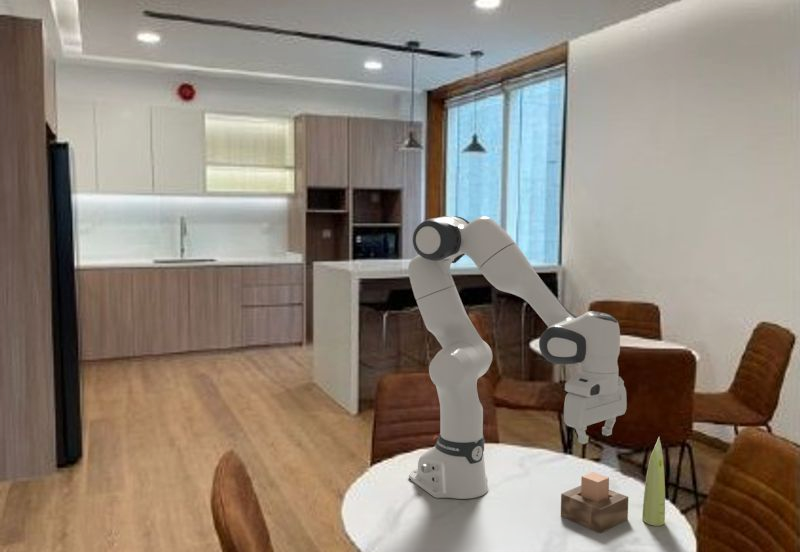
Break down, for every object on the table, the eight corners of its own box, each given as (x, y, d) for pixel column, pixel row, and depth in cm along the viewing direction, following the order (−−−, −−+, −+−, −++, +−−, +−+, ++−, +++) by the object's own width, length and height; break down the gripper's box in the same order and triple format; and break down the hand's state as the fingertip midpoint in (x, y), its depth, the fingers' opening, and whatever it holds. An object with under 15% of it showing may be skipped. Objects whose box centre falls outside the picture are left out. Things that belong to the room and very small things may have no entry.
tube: (671, 526, 151) (674, 444, 150) (651, 528, 150) (654, 446, 149) (656, 515, 157) (659, 436, 155) (637, 517, 156) (640, 437, 154)
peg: (580, 512, 156) (581, 476, 155) (591, 507, 159) (592, 471, 158) (596, 519, 153) (597, 482, 152) (607, 514, 155) (609, 477, 155)
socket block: (560, 515, 157) (561, 493, 156) (588, 503, 164) (588, 482, 163) (600, 533, 148) (601, 509, 148) (627, 519, 155) (628, 496, 155)
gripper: (611, 372, 162) (608, 426, 163) (560, 384, 149) (557, 443, 150) (634, 377, 157) (631, 433, 158) (583, 391, 144) (580, 451, 146)
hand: (595, 438), depth 154 cm, fingers open, 8 cm apart
